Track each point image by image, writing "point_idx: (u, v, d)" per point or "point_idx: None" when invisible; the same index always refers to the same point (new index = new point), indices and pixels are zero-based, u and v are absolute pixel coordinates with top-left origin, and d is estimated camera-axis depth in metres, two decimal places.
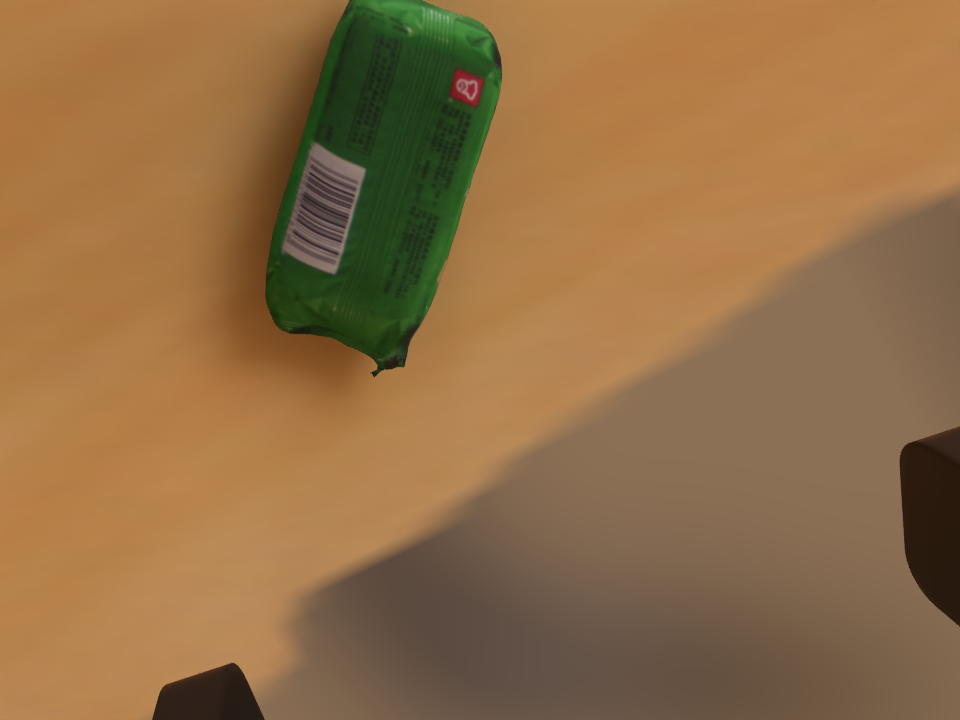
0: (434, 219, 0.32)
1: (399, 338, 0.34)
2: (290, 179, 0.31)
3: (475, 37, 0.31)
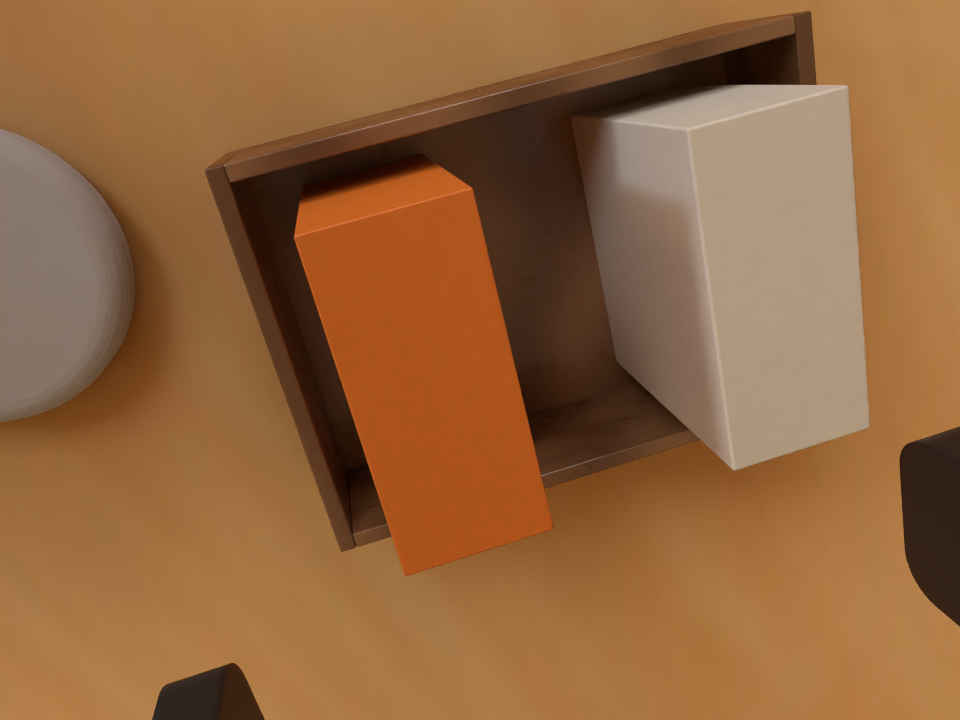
0: None
1: None
2: None
3: None
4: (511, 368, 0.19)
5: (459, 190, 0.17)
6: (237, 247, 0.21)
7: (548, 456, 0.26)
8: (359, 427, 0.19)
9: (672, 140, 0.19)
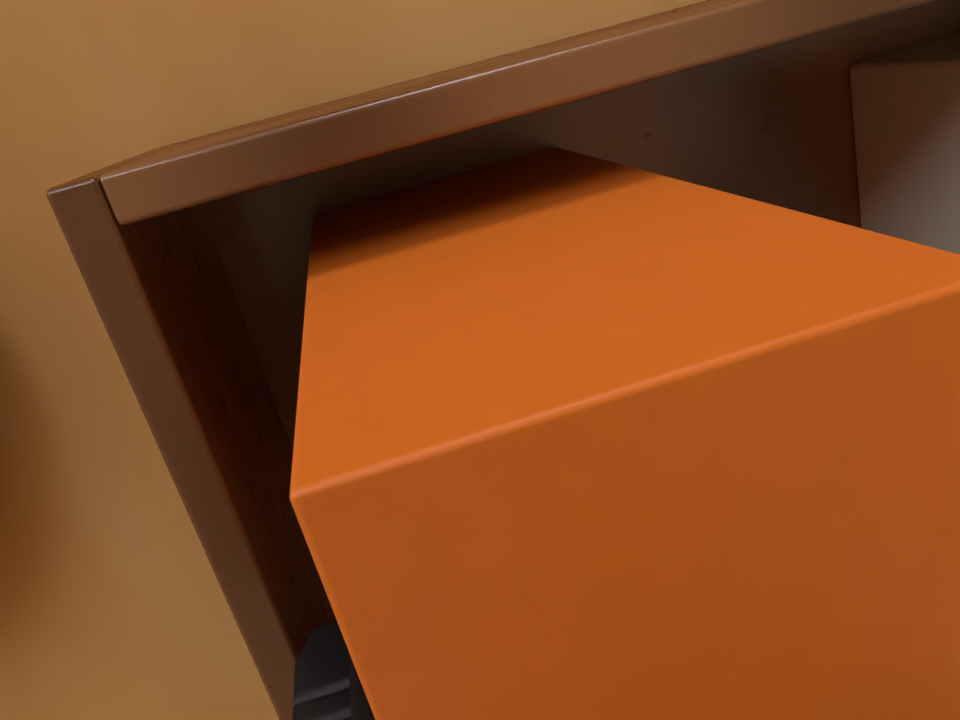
0: None
1: None
2: None
3: None
4: None
5: None
6: (147, 391, 0.08)
7: None
8: None
9: None
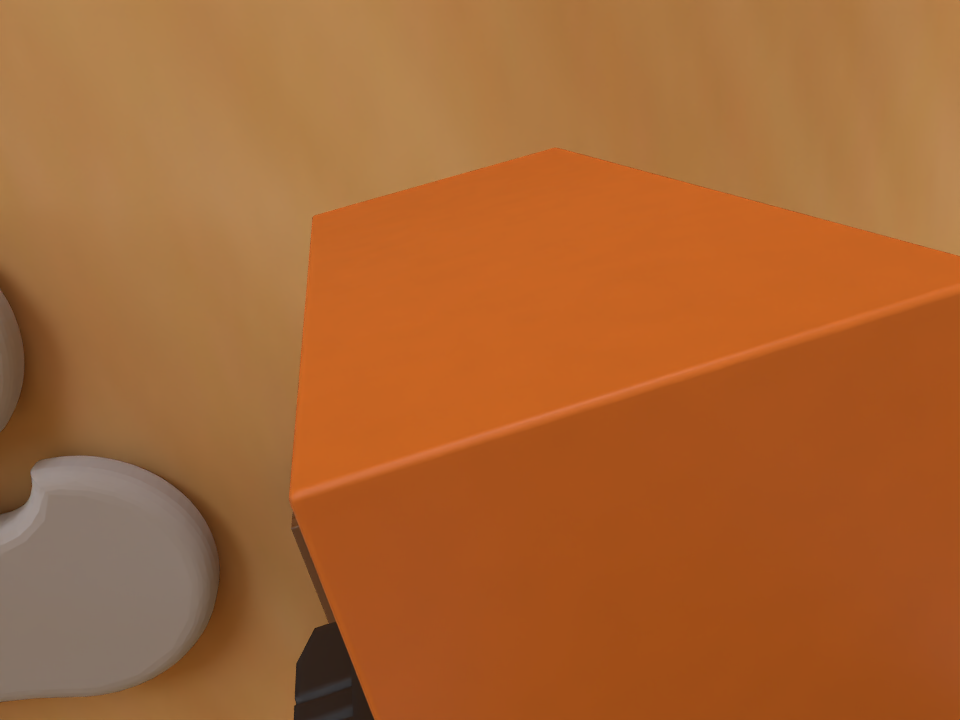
0: None
1: None
2: None
3: None
4: None
5: (959, 281, 0.04)
6: (317, 583, 0.25)
7: None
8: None
9: None
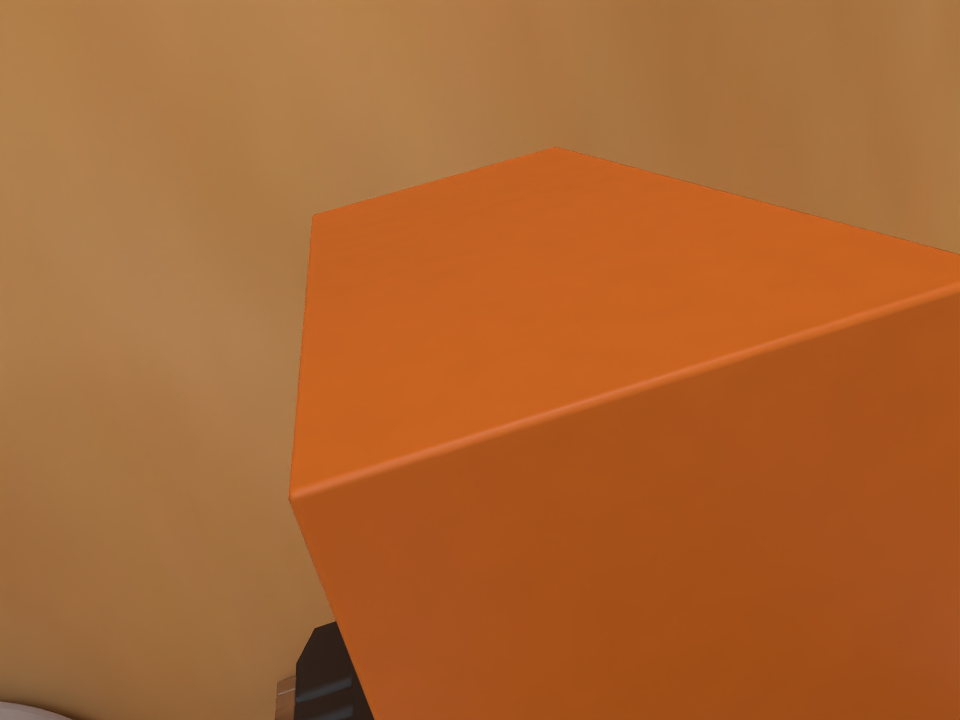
0: None
1: None
2: None
3: None
4: None
5: None
6: None
7: None
8: None
9: None
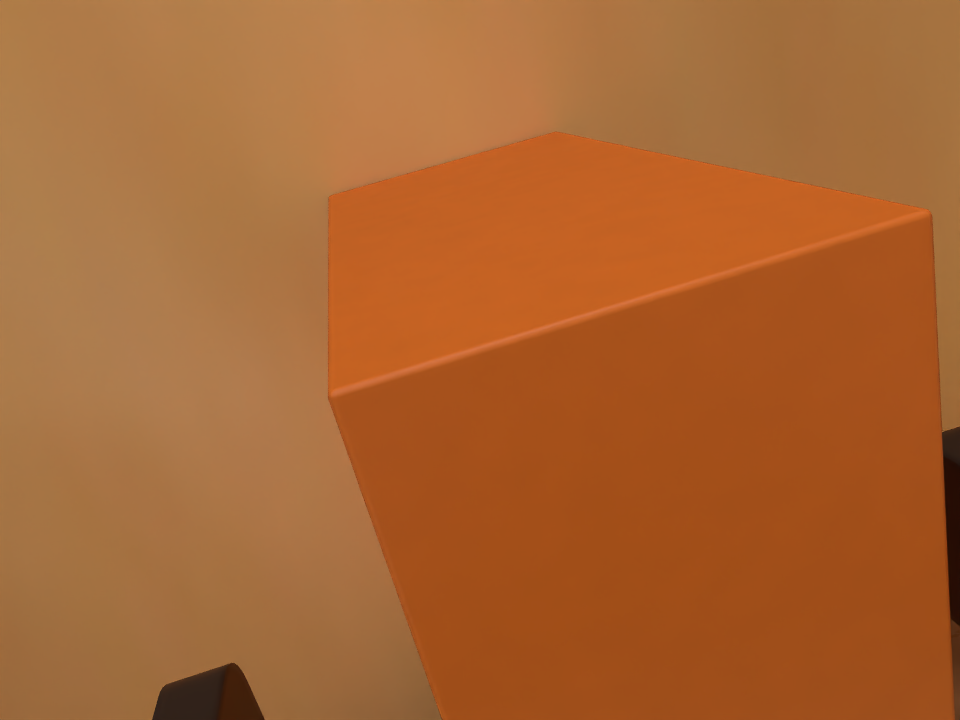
0: None
1: None
2: None
3: None
4: None
5: (887, 219, 0.05)
6: None
7: None
8: None
9: None
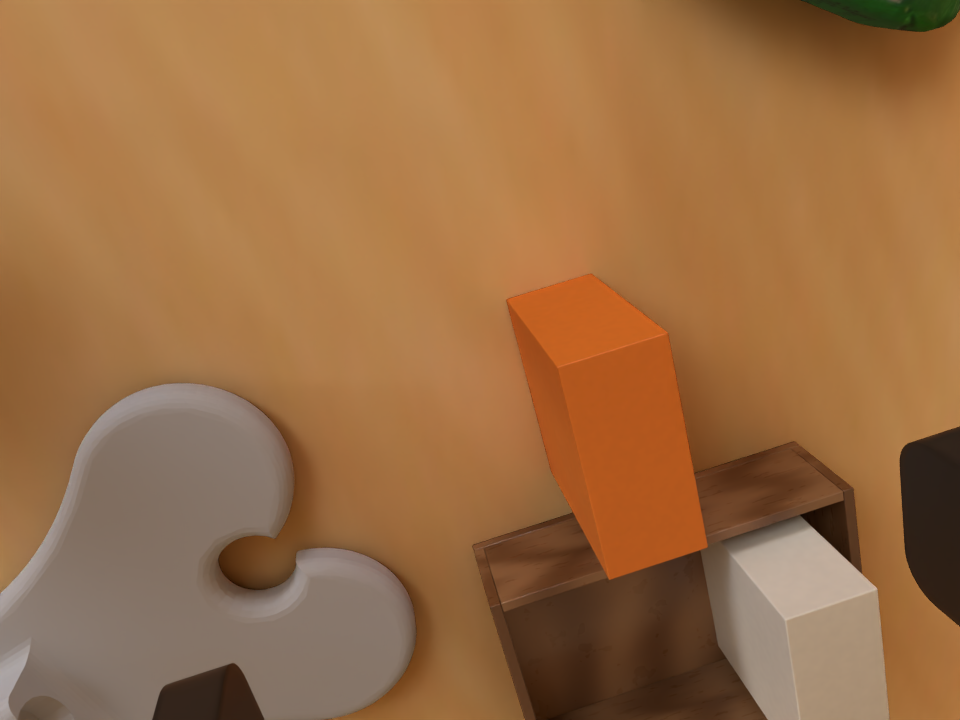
0: None
1: None
2: None
3: None
4: (686, 443, 0.29)
5: (659, 334, 0.27)
6: (504, 644, 0.35)
7: None
8: (587, 483, 0.29)
9: (774, 612, 0.32)
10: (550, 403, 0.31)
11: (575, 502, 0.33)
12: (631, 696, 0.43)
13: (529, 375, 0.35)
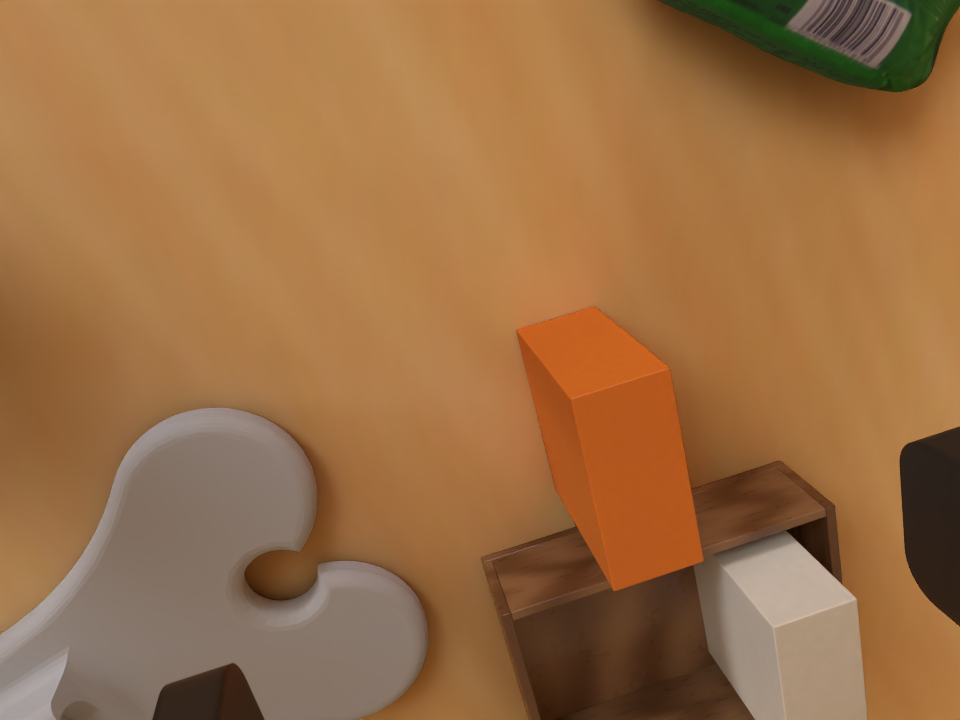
0: None
1: None
2: (809, 54, 0.32)
3: None
4: (685, 467, 0.32)
5: (662, 369, 0.30)
6: (513, 650, 0.38)
7: None
8: (596, 503, 0.31)
9: (763, 620, 0.35)
10: (560, 428, 0.34)
11: (581, 519, 0.36)
12: (627, 699, 0.46)
13: (537, 400, 0.38)
